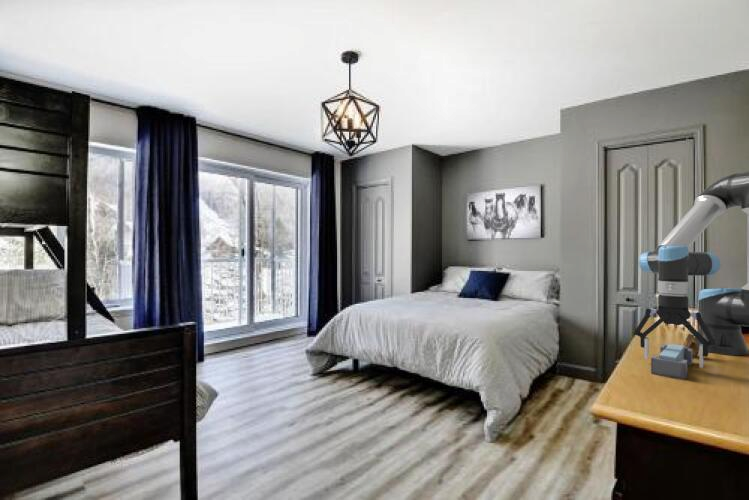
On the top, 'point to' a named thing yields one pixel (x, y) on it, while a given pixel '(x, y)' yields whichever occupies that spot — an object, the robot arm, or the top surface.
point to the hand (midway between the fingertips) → (672, 362)
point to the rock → (691, 344)
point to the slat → (673, 353)
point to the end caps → (672, 365)
